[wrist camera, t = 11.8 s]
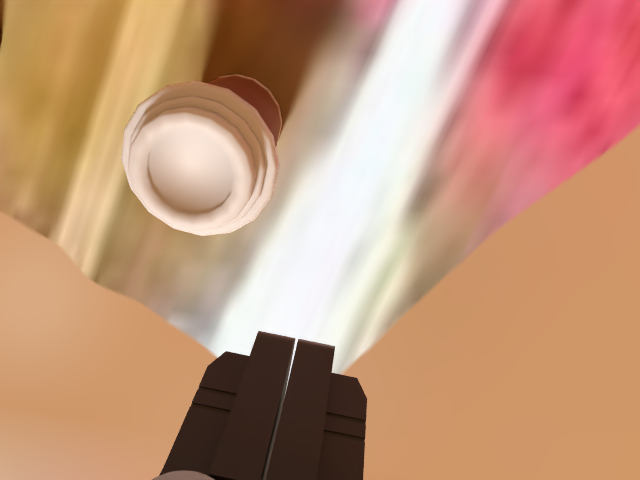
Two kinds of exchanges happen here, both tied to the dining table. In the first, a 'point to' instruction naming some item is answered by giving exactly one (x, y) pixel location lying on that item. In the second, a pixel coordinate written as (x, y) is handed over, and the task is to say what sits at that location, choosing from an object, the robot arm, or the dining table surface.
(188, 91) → the coffee cup
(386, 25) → the dining table surface
